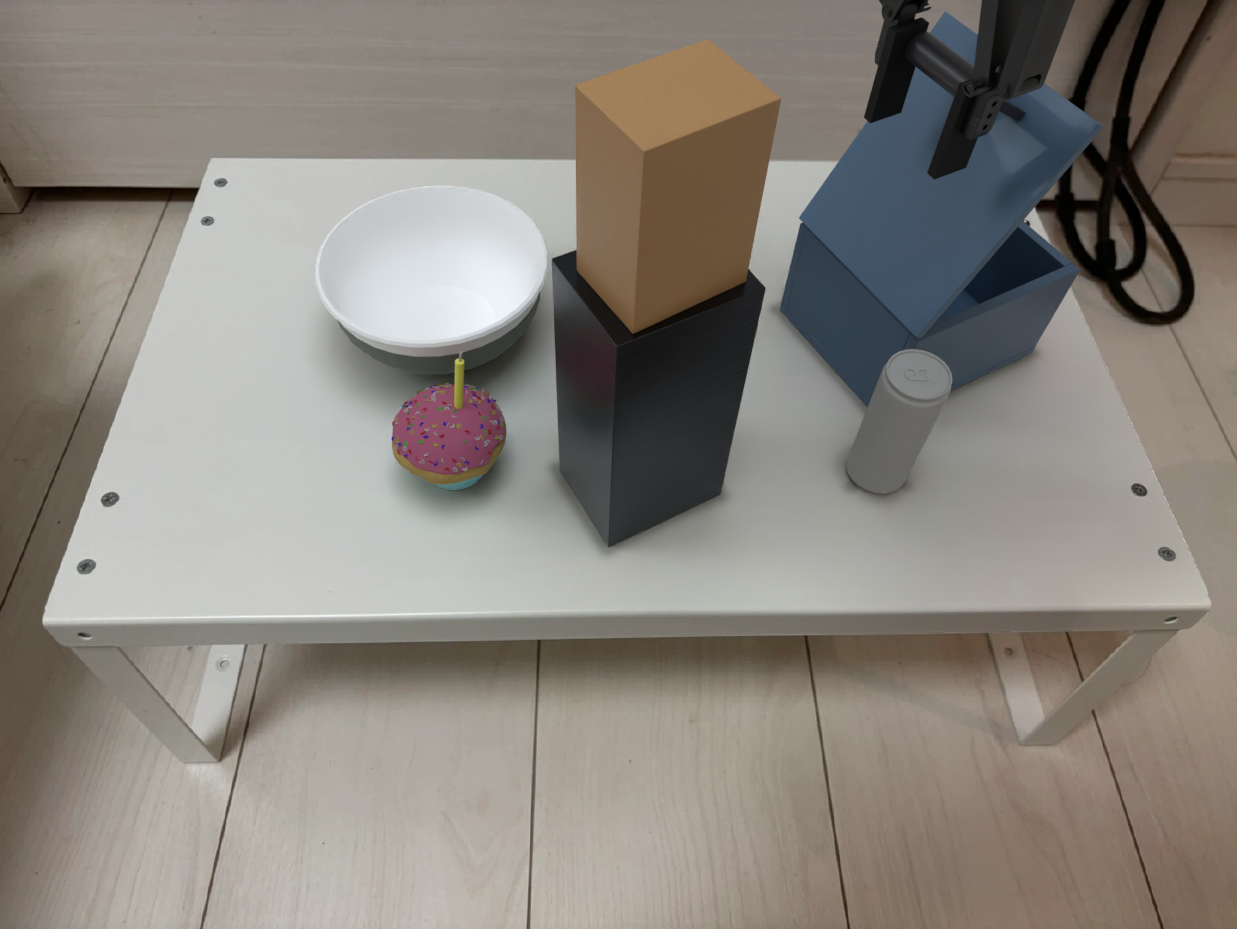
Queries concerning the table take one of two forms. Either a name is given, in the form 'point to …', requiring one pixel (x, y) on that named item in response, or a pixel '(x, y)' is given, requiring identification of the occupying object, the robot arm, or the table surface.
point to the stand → (647, 401)
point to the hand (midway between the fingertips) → (913, 141)
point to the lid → (941, 183)
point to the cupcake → (449, 433)
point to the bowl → (433, 277)
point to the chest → (962, 336)
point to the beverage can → (898, 420)
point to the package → (670, 180)
